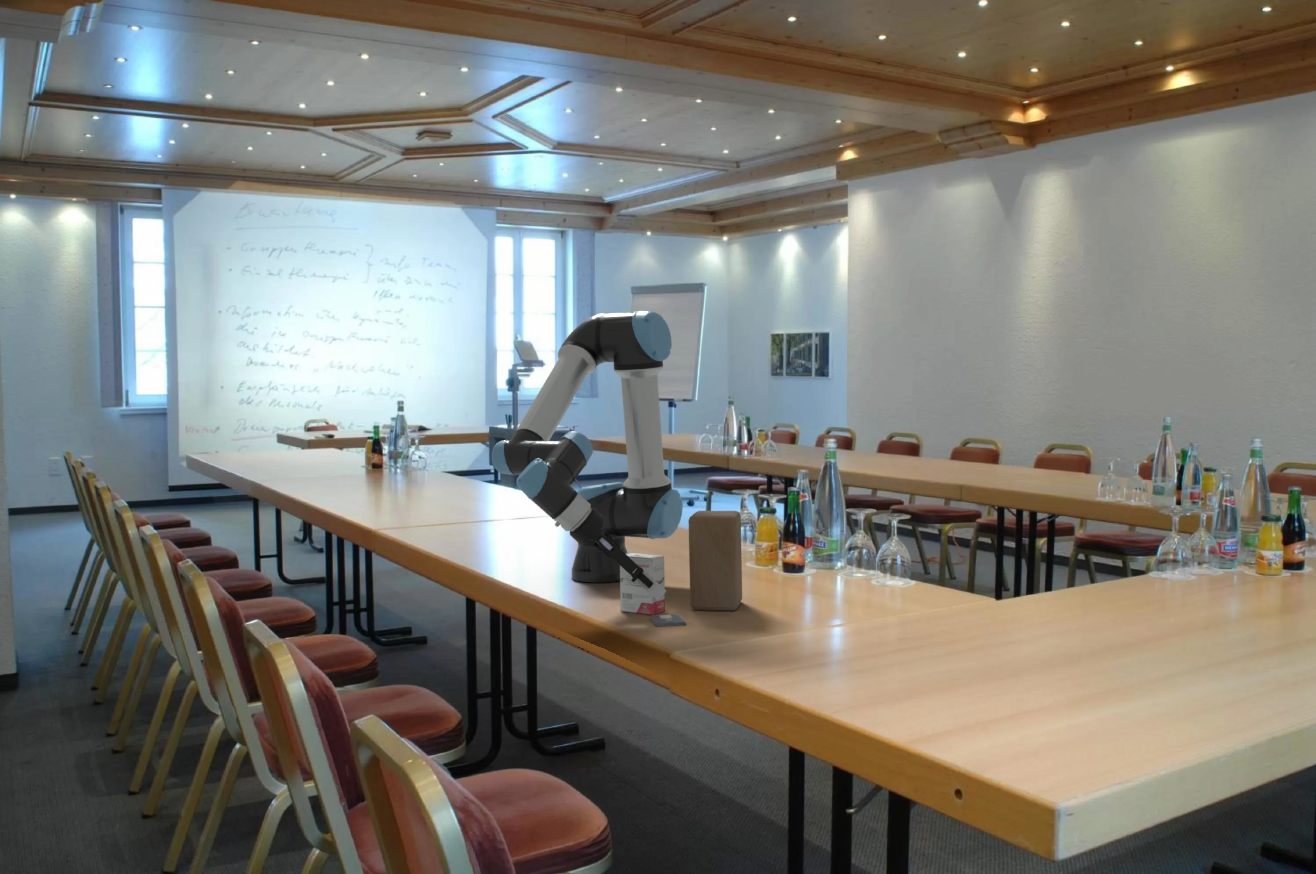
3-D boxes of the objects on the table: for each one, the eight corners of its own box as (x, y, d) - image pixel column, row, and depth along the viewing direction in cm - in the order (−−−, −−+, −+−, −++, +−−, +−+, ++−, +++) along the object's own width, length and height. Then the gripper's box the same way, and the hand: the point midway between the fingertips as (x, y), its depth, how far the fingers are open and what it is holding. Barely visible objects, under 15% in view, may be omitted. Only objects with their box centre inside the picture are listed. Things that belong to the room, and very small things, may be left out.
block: (737, 612, 220) (735, 516, 219) (689, 611, 222) (687, 516, 221) (742, 601, 230) (741, 510, 229) (697, 600, 232) (695, 510, 231)
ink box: (666, 610, 223) (665, 554, 222) (653, 615, 219) (652, 558, 218) (632, 606, 228) (631, 551, 227) (619, 611, 223) (617, 555, 223)
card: (649, 618, 216) (649, 615, 216) (678, 616, 217) (678, 613, 217) (656, 626, 209) (655, 622, 209) (685, 624, 210) (685, 620, 210)
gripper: (562, 526, 230) (636, 594, 234) (573, 541, 208) (655, 615, 212) (586, 500, 230) (659, 568, 234) (599, 512, 209) (680, 587, 213)
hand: (657, 590), depth 223 cm, fingers closed on ink box, 9 cm apart
